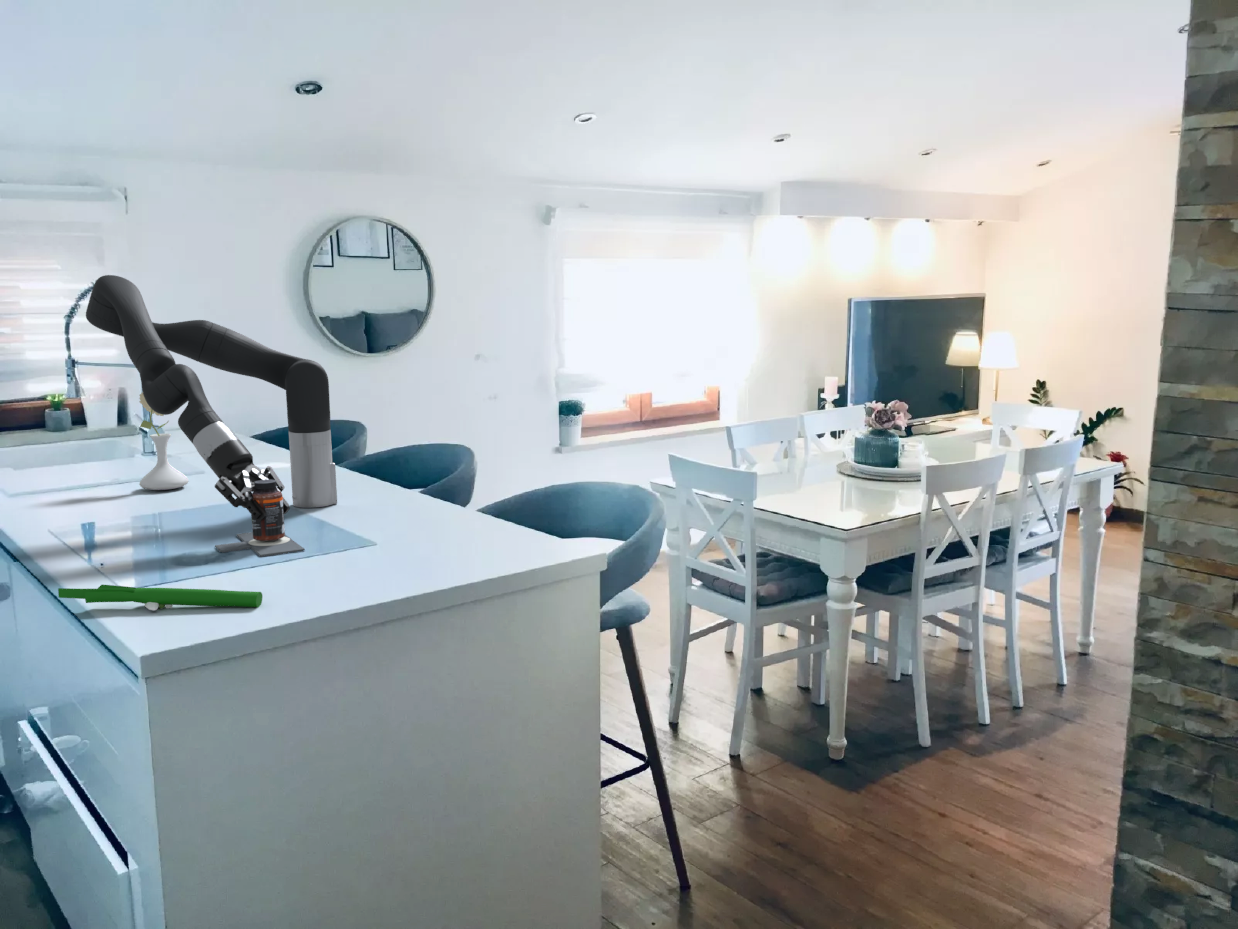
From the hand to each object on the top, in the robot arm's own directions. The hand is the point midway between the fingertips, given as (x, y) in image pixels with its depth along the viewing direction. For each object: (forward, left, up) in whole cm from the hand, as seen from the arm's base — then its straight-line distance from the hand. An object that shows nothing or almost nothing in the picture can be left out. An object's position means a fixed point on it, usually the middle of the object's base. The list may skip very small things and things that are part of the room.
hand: (274, 514), depth 190 cm
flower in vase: (+9, -76, -6) cm, 77 cm away
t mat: (+4, -1, -6) cm, 7 cm away
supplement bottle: (+1, -2, -5) cm, 5 cm away
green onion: (+25, +32, -6) cm, 41 cm away
